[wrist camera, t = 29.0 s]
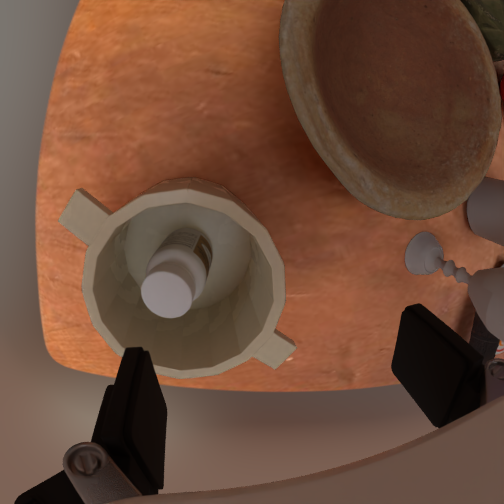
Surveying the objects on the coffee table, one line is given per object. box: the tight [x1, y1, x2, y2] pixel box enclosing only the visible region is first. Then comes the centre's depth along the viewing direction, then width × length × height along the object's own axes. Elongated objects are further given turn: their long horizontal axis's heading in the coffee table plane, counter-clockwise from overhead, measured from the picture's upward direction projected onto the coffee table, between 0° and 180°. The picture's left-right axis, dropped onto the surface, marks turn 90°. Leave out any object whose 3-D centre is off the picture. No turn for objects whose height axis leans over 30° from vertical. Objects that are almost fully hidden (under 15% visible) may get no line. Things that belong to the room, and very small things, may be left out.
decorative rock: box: [460, 0, 504, 62], centre depth 20 cm, size 15×16×10 cm
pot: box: [58, 177, 297, 379], centre depth 23 cm, size 13×18×10 cm
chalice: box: [405, 232, 504, 343], centre depth 23 cm, size 7×7×18 cm
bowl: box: [279, 0, 502, 220], centre depth 21 cm, size 24×24×8 cm
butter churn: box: [469, 311, 500, 366], centre depth 35 cm, size 9×10×28 cm
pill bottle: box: [141, 228, 213, 318], centre depth 23 cm, size 4×4×8 cm
